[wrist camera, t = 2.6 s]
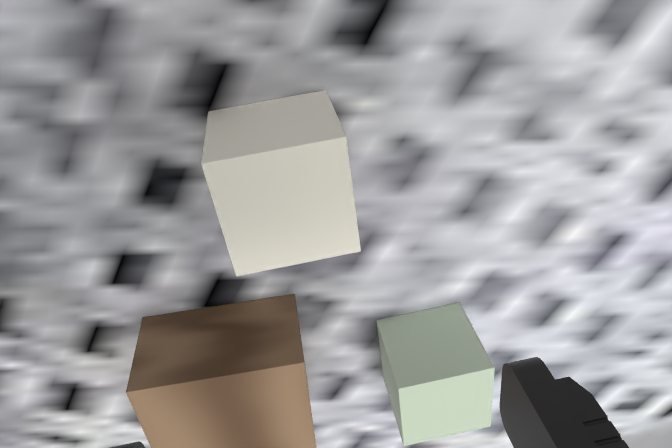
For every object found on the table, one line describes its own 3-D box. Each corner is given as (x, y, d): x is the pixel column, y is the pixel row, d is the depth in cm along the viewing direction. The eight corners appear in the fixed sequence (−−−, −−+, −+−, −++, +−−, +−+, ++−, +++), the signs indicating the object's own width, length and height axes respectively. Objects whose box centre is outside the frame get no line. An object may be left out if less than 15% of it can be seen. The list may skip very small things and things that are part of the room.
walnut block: (178, 409, 31) (169, 488, 27) (143, 314, 27) (125, 392, 23) (307, 387, 32) (318, 461, 28) (294, 291, 28) (304, 362, 23)
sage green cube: (382, 375, 32) (403, 446, 28) (376, 319, 29) (398, 389, 25) (458, 358, 33) (490, 426, 28) (459, 301, 30) (494, 367, 26)
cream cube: (236, 210, 24) (236, 276, 20) (208, 110, 21) (201, 164, 17) (339, 190, 24) (360, 251, 20) (325, 89, 22) (346, 136, 17)
